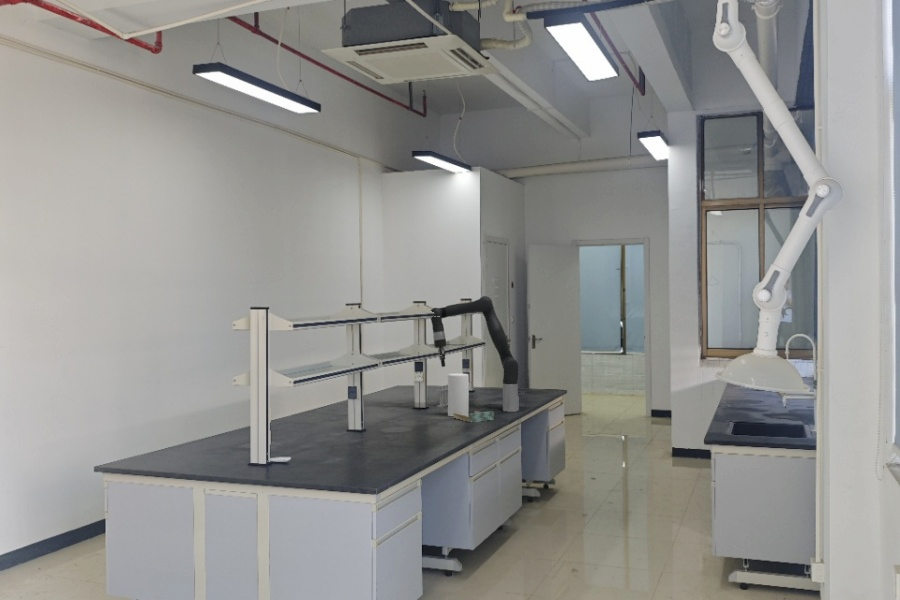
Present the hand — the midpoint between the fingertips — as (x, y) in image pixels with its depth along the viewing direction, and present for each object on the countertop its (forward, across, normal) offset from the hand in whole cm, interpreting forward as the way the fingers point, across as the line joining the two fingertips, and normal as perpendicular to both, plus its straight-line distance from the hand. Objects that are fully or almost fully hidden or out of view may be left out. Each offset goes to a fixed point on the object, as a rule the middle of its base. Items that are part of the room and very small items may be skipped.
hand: (443, 366), depth 487 cm
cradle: (+34, -26, -9) cm, 44 cm away
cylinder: (+31, -13, -3) cm, 34 cm away
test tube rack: (+24, +32, -4) cm, 41 cm away
